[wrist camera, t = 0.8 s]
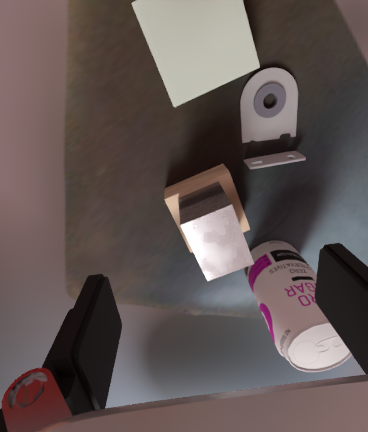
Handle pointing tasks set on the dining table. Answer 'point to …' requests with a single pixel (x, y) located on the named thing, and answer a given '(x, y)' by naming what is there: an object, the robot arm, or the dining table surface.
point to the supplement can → (293, 308)
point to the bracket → (269, 114)
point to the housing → (213, 231)
